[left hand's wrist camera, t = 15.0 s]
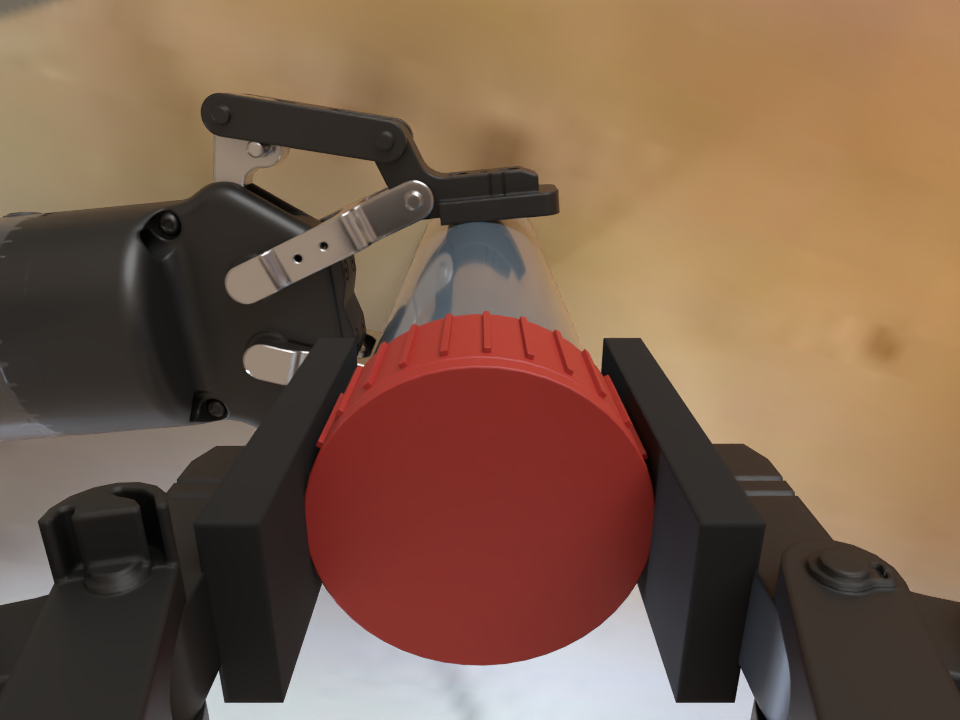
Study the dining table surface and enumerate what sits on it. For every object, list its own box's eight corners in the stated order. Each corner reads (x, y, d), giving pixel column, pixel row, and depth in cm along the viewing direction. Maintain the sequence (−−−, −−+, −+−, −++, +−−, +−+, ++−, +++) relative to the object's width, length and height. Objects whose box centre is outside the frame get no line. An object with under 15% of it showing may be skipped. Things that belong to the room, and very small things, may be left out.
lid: (275, 382, 12) (226, 449, 9) (562, 256, 11) (583, 297, 9) (412, 607, 13) (398, 709, 11) (667, 513, 13) (708, 602, 10)
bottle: (496, 168, 27) (527, 298, 9) (557, 265, 29) (689, 541, 11) (399, 234, 28) (259, 468, 10) (464, 325, 30) (441, 671, 12)
